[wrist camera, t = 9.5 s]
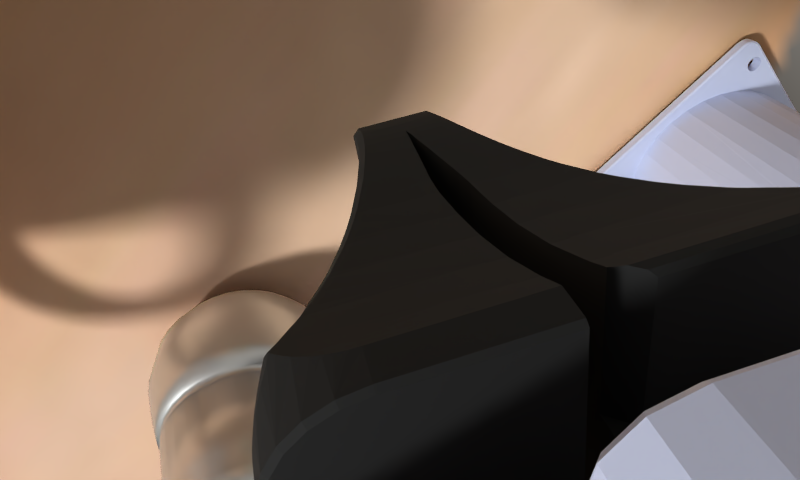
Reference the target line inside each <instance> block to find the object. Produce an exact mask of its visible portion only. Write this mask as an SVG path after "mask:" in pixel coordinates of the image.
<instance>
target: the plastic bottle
mask: <svg viewBox="0 0 800 480" xmlns="http://www.w3.org/2000/svg"><path fill="white" fill-rule="evenodd" d="M305 308H306V307H305V306H304V305H302V304H300V303H298V302H297V301H295V300H293V299H290V298H288V297H285V296H282V295H279V294H276V293H273V292H269V291H262V290H239V291H233V292H227V293H224V294H221V295H218V296H215V297H212V298H210V299H208V300H206V301H204V302H202V303H200V304H199V305H197V306H196V307H195V308H193V309H192V310H190V311H189V312H188V313H186V314H185V315H183V316H182V317H181V318H179V319H178V320H177V321H176V322H175V323H174V324H173V325H172V326H171V328H170V329H169V330H168V331H167V333H166V334H165V336H164V338H163V339H162V341H161V343H160V346H159V349H158V352H157V355H156V359H155V362H154V365H153V369H152V372H151V375H150V379H149V389H148V396H149V404H150V411H151V419H152V425H153V429H154V433H155V437H156V440H157V444H158V448H159V451H160V464H161V478H162V480H254V475H253V464H252V436H253V419H254V410H255V402H256V395H257V389H258V383H259V378H260V373H261V367H262V363H263V358H264V356H265V355H266V353H267V352H268V351H269V350H270V349H271V348H272V347H273V346H274V345H275V344H276V343H277V342H278V341H279V340H280V338H281V337H282V336H283V335H284V334H285V333H286V332H287V331H288V329H289V328H290V327H291V326H292V325H293V324H294V323H295V322H296V321H297V319H298V318H299V317H300V316H301V314H302V313H303V311H304V310H305Z"/></svg>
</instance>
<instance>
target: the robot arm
mask: <svg viewBox="0 0 800 480" xmlns="http://www.w3.org/2000/svg"><path fill="white" fill-rule="evenodd" d="M751 59H753V61H752V63H751V64H750V65H749V66H748V64H749V62H750V61H751ZM354 141H355V145H356V150H357V154H358V159H359V169H358V181H357V188H356V193H355V198H354V203H353V207H352V212H351V216H350V219H349V223H348V226H347V229H346V232H345V235H344V237H343V240H342V243H341V245H340V248H339V250H338V252H337V254H336V256H335V259H334V261H333V263H332V265H331V267H330V269H329V271H328V273H327V275H326V277H325V279H324V280H323V282H322V284H321V285H320V287H319V288H318V290H317V292H316V293H315V295H314V296H313V298H312V299H311V301H310V302H309V304H308V305H307V307H306V308H305V310H304V311H303V313H302V314H301V316H300V317H299V318H298V319H297V321H296V322H295V323H294V324H293V325H292V326H291V327H290V328H289V329H288V331H287V332H286V333H285V334H284V335H283V336H282V337H281V338H280V340H279V341H278V342H277V343H276V344H275V345H274V346H273V347H272V348H271V349H270V350H269V351H268V352H267V353H266V355H265V356H264V358H263V363H262V367H261V373H260V378H259V383H258V389H257V395H256V402H255V410H254V419H253V436H252V464H253V475H254V480H800V113H798V112H797V111H796V109H795V107H794V105H793V104H792V102H791V100H790V98H789V96H788V95H787V93H786V91H785V89H784V88H783V86H782V84H781V82H780V80H779V78H778V77H777V75H776V73H775V71H774V69H773V68H772V66H771V64H770V62H769V60H768V59H767V57H766V55H765V53H764V51H763V50H762V48H761V46H760V44H759V43H758V42H756V41H754V40H752V39H744V40H741V41H740V42H739V43H737V44H736V45H735V46H734V47H733V48H732V49H731V50H729V51H728V52H727V53H726V54H725V55H724V56H723V57H722V58H721V59H720V60H718V61H717V62H716V63H715V64H714V65H713V66H712V67H711V68H710V69H709V70H708V71H706V72H705V73H704V74H703V75H702V76H701V77H700V78H699V79H698V80H697V81H695V82H694V83H693V84H692V85H691V86H690V87H689V88H688V89H687V90H686V91H684V92H683V93H682V94H681V95H680V96H679V97H678V98H677V99H676V100H675V101H673V102H672V103H671V104H670V105H669V106H668V107H667V108H666V109H665V110H664V111H663V112H661V113H660V114H659V115H658V116H657V117H656V118H655V119H654V120H653V121H652V122H650V123H649V124H648V125H647V126H646V127H645V128H644V129H643V130H642V131H641V132H639V133H638V134H637V135H636V136H635V137H634V138H633V139H632V140H631V141H630V142H629V143H627V144H626V145H625V146H624V147H623V148H622V149H621V150H620V151H619V152H618V153H616V154H615V155H614V156H613V157H612V158H611V159H610V160H609V161H608V162H607V163H605V164H604V165H603V166H602V167H601V168H600V169H599V170H598V171H597V172H593V171H589V170H585V169H581V168H577V167H573V166H569V165H565V164H561V163H557V162H554V161H550V160H547V159H544V158H541V157H538V156H535V155H532V154H529V153H526V152H523V151H521V150H518V149H515V148H512V147H510V146H507V145H505V144H502V143H499V142H497V141H495V140H492V139H490V138H487V137H485V136H483V135H480V134H478V133H476V132H474V131H471V130H469V129H467V128H465V127H463V126H460V125H458V124H456V123H454V122H452V121H449V120H447V119H445V118H443V117H441V116H438V115H436V114H433V113H431V112H428V111H424V112H420V113H416V114H412V115H409V116H405V117H401V118H397V119H393V120H389V121H386V122H382V123H378V124H374V125H370V126H367V127H363V128H359V129H358V130H357V132H356V133H355V135H354Z"/></svg>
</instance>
